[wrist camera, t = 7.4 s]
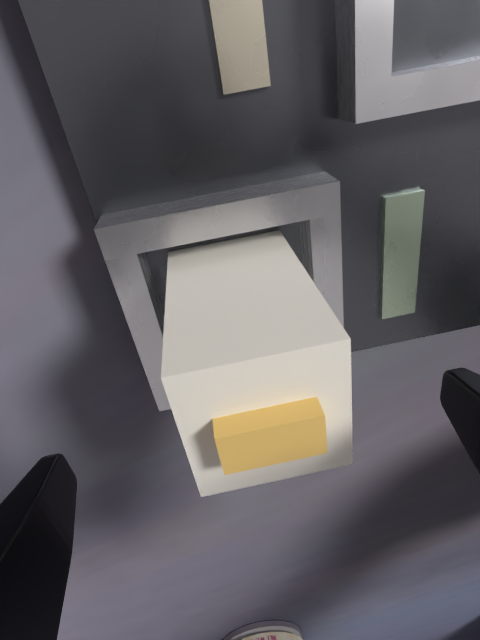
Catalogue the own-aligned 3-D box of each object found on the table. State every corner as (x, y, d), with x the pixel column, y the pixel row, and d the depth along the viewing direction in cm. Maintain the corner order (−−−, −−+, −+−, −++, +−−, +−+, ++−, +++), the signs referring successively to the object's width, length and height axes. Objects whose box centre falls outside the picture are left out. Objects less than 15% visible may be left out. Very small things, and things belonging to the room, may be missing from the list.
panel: (497, 304, 19) (541, 335, 17) (157, 374, 18) (154, 417, 16) (635, -363, 9) (782, -502, 7) (-56, -252, 9) (-136, -363, 7)
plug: (289, 324, 17) (361, 484, 10) (192, 344, 16) (202, 518, 10) (279, 230, 14) (361, 355, 8) (168, 252, 14) (159, 398, 8)
